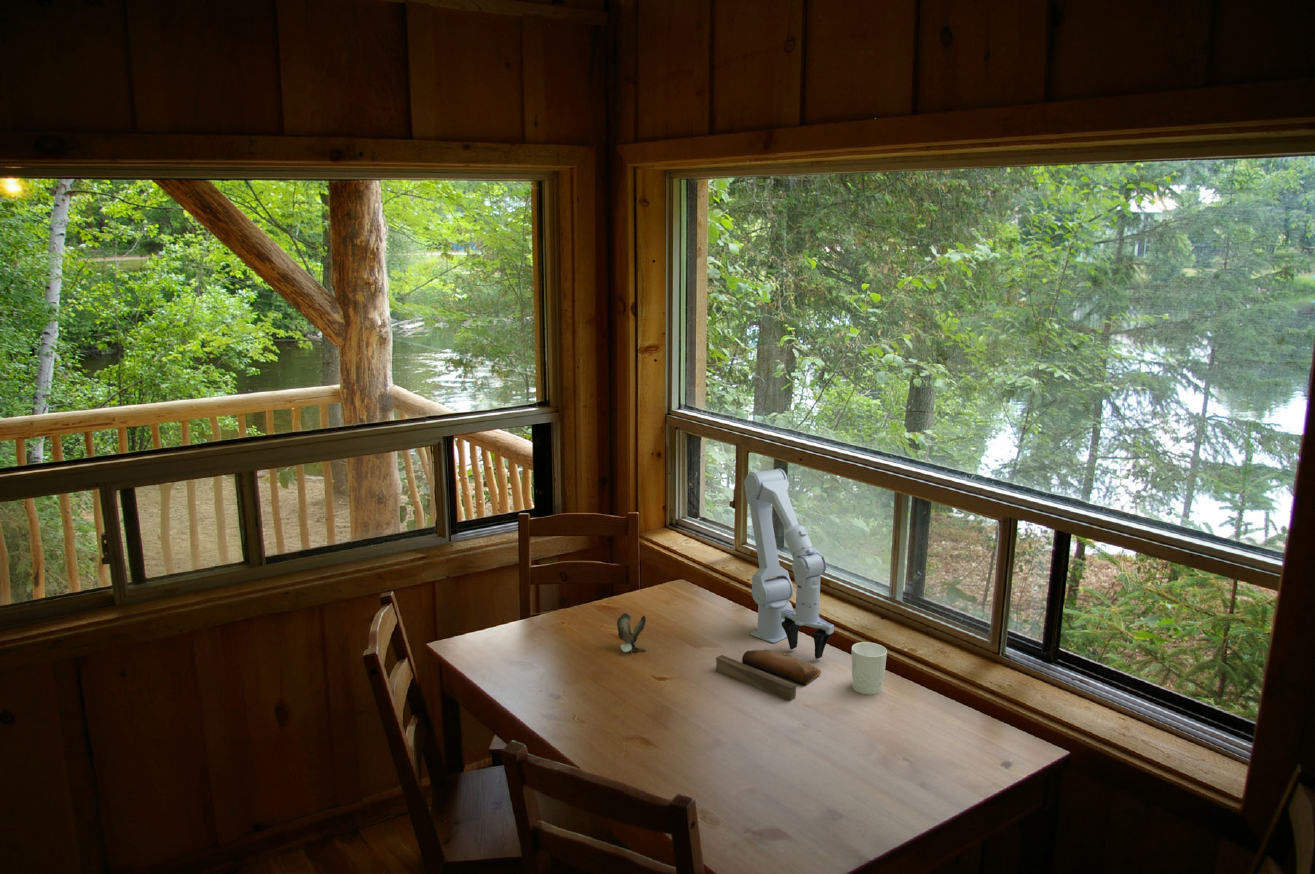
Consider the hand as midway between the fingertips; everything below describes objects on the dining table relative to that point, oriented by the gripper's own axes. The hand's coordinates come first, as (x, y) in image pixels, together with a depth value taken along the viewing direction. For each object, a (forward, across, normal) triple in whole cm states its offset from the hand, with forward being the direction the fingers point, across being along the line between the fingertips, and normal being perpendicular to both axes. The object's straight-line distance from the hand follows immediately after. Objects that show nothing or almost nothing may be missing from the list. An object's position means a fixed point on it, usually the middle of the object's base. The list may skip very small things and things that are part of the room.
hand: (805, 652), depth 222 cm
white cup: (+2, +20, -4) cm, 20 cm away
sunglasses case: (+2, 0, -8) cm, 9 cm away
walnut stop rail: (+1, 0, -20) cm, 20 cm away
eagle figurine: (+2, -34, -28) cm, 44 cm away
